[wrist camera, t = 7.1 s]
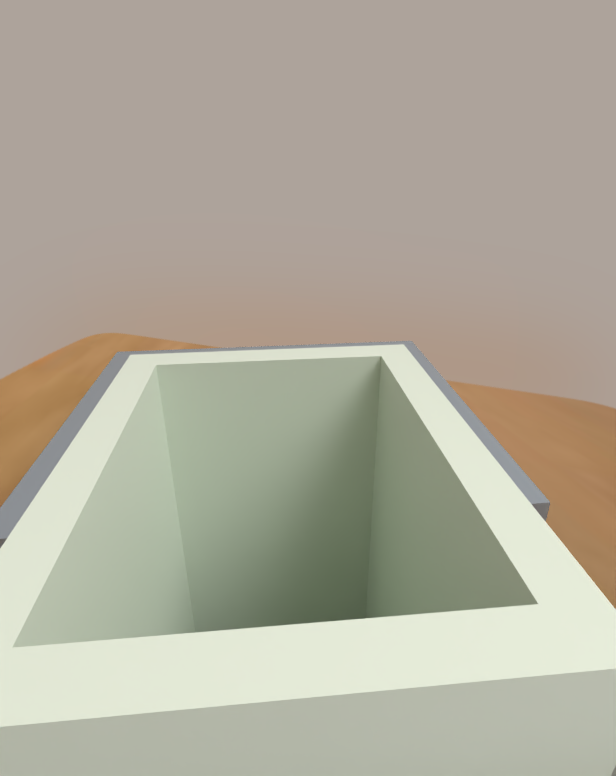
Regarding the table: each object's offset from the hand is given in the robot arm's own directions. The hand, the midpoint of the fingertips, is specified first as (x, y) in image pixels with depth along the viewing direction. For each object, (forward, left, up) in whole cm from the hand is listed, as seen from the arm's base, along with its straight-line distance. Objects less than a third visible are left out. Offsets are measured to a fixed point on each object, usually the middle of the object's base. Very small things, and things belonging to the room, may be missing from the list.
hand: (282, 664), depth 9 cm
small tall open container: (0, 0, -7) cm, 7 cm away
